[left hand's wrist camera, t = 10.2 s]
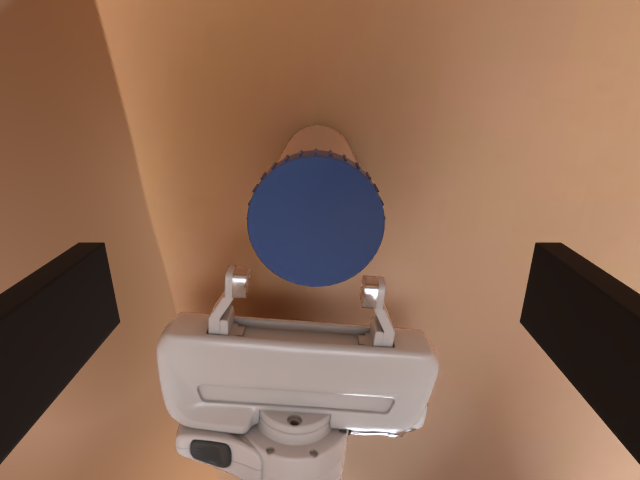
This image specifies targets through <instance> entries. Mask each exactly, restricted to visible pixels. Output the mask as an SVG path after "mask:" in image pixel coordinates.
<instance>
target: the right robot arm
mask: <svg viewBox="0 0 640 480" xmlns="http://www.w3.org/2000/svg"><path fill="white" fill-rule="evenodd" d="M249 275H250V267H246V266H236V265H229V266H228V268H227V271H226V274H225V291H224V292H223V294H222V295H221V296H220V298H219V299H218V301H217V302H216V304H215V306H214V308H213V310H212V312H211V314H204V313H191V312H181V313H179V314H178V315H177V316H175V317H174V318H173V319H172V320H171V321H170V323H169V324H168V325H167V326H166V328H165V329H164V331H163V333H162V334H161V336H160V338H159V341H158V344H157V366H158V374H159V380H160V386H161V391H162V395H163V399H164V403H165V406H166V408H167V410H168V412H169V414H170V415H171V417H172V418H173V419H174V420H175V421H177V422H178V423H180V424H179V427H178V431H177V435H176V440H175V447H176V451H177V452H178V454H180V455H181V456H183V457H185V458H188V459H191V460H194V461H198V462H201V463H204V464H207V465H210V466H213V467H216V468H218V469H221V470H223V471H226V472H228V473H230V474H232V475H234V476H236V477H238V478H240V479H241V480H340V479H341V476H342V472H343V467H344V460H345V453H346V446H347V438H348V435H349V434H353V435H378V434H379V435H387V436H389V437H402V436H404V433H405V432H411V431H413V430H416V429H419V428H421V427H422V426H423V424H424V422H425V417H426V413H427V408H428V400H429V398H430V396H431V393H432V390H433V388H434V385H435V382H436V379H437V375H438V372H439V359H438V356H437V353H436V350H435V348H434V346H433V344H432V342H431V341H430V339H429V338H428V337H427V335H426V334H425V333H424V332H423V331H422V330H417V329H404V328H393V324H392V321H391V318H390V315H389V313H388V311H387V309H386V307H385V305H384V299H385V292H386V284H385V281H384V278H383V277H376V276H363V277H362V287H361V290H360V299H361V304H362V307H363V308H373V309H374V311H375V313H376V316H373V317H372V320H371V326H364V325H351V324H337V323H324V322H311V321H298V320H284V319H271V318H257V317H244V316H234V306H233V305H230V303H231V302H232V301H233V299H234V298H245V299H246V297H247V292H248V291H249V288H250V278H249Z"/></svg>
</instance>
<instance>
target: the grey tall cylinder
mask: <svg viewBox="0 0 640 480" xmlns="http://www.w3.org/2000/svg"><path fill="white" fill-rule="evenodd" d="M315 148H317V150H322V151H329V150H332V152H333V153H337V154H339V155H342V156H343V155H346V157H347V158H348V159H350V160H351V161H353V162H354V163H356V162H357V161H356V159H355V157H354V155H353V153H352V151H351V149H350V146H349V144H348V143H347V141H346V139H345V138H344V137H343V136H342V135H341V134H340V133H339V132H337V131H336V130H334V129H332V128H330V127H327V126H321V125H314V126H309V127H306V128H304V129H302V130H300V131H298V132H297V133H296V134H295V135H294V136H293V137H292V138H291V139H290V141H289V142H288V144H287V146H286V148H285V149H284V151H283V153H282V155H281V157H280V159H279V160H278V162H279V161H281V160H283V159H284V158H285V157H286V155H289V156H290V155H293V154H296V153H299V152H300V150H302V151H310V150H315ZM278 162H277V163H278Z"/></svg>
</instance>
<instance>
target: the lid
mask: <svg viewBox="0 0 640 480" xmlns="http://www.w3.org/2000/svg"><path fill="white" fill-rule="evenodd" d="M253 192H254V194H253V196H252V198H251V200H250V202H249V204H248V206H249V209H248V215H247V227H248V234H249V238H250V241H251V244H252V247H253V248H254V250H255V252H256V254H257V256H258V257H259V258H260V260H261V261H262V262H263V263H264V264H265V266H266V267H267V268H269V269H270V270H271V271H272V272H273V273H275V274H276V275H278V276H279V277H281V278H283V279H285V280H287V281H289V282H292V283H295V284H298V285H303V286H311V287H322V286H330V285H334V284H338V283H340V282H343V281H346V280H348V279H349V278H351V277H353V276H355V275H356V274H357V273H359V272H360V271H361V270H363V269H364V268H365V267H366V266H367V265H368V264H369V262H370V261H371V260H372V259H373V257H374V256H375V254H376V253H377V251H378V248H379V246H380V244H381V241H382V238H383V233H384V225H385V216H384V210H383V206H384V204H383V202H382V200H381V198H380V196H379V194H378V193H377V192H379V190H378V188H377V187H376V185H375V184H373V183H372V182H371V177H370V176H369V174H368V172H366V173H365V172H364V171H363V170H362V169H361V168H360V166H359V164H358V163H357V162H356V163H354V162H353V161H351V160H350V159H348V158H347V157H346V155H343V156H342V155H339V154H337V153H333V152H332V150H329V151H322V150H317V148H315V150H310V151H302V150H300V152H299V153H296V154H293V155H290V156H289V155H286V157H285V158H284V159H283V160H281V161H279V162H278V163H276V162H275V163H274V164H273V166H272V167H271V169H270V170H269V171H268V172H267V173H266V172H265V173H264V174H263V176H262V177H261V182H260V183H259V184H257V185H256V187H255V188H254V190H253Z"/></svg>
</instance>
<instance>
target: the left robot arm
mask: <svg viewBox="0 0 640 480" xmlns="http://www.w3.org/2000/svg"><path fill="white" fill-rule="evenodd" d="M119 323H120V319H119V314H118V309H117V304H116V299H115V294H114V288H113V283H112V278H111V273H110V269H109V263H108V258H107V253H106V248H105V243H78V244H76V245H75V246H73V247H71V248H70V249H68V250H67V251H65V252H64V253H62V254H61V255H59V256H58V257H56V258H55V259H53V260H52V261H50V262H49V263H47V264H46V265H44V266H42V267H41V268H39V269H38V270H36V271H35V272H33V273H32V274H30V275H29V276H27V277H26V278H24V279H23V280H21V281H20V282H18V283H17V284H15V285H13V286H12V287H10V288H9V289H7V290H6V291H4V292H3V293H1V294H0V464H1V463H2V462H3V460H4V459H5V458H6V457H7V456H8V455H9V453H10V452H11V451H12V450H13V449H14V447H15V446H16V445H17V444H18V443H19V442H20V440H21V439H22V438H23V437H24V436H25V434H26V433H27V432H28V431H29V430H30V428H31V427H32V426H33V425H34V424H35V423H36V421H37V420H38V419H39V418H40V416H41V415H42V414H43V413H44V412H45V411H46V409H47V408H48V407H49V406H50V405H51V403H52V402H53V401H54V400H55V399H56V398H57V396H58V395H59V394H60V393H61V392H62V390H63V389H64V388H65V387H66V386H67V385H68V383H69V382H70V381H71V380H72V379H73V377H74V376H75V375H76V374H77V373H78V371H79V370H80V369H81V368H82V367H83V366H84V364H85V363H86V362H87V361H88V360H89V358H90V357H91V356H92V355H93V354H94V352H95V351H96V350H97V349H98V348H99V346H100V345H101V344H102V343H103V342H104V341H105V339H106V338H107V337H108V336H109V335H110V333H111V332H112V331H113V330H114V329H115V328H116V326H117V325H118V324H119ZM520 323H521V324H522V325H523V326H524V328H525V329H526V330H527V331H528V332H529V333H530V335H531V336H532V337H533V338H534V339H535V341H536V342H537V343H538V344H539V345H540V347H541V348H542V349H543V350H544V351H545V352H546V354H547V355H548V356H549V357H550V358H551V360H552V361H553V362H554V363H555V364H556V366H557V367H558V368H559V369H560V370H561V371H562V373H563V374H564V375H565V376H566V377H567V379H568V380H569V381H570V382H571V383H572V385H573V386H574V387H575V388H576V389H577V390H578V392H579V393H580V394H581V395H582V396H583V398H584V399H585V400H586V401H587V402H588V404H589V405H590V406H591V407H592V408H593V409H594V411H595V412H596V413H597V414H598V415H599V417H600V418H601V419H602V420H603V421H604V423H605V424H606V425H607V426H608V427H609V428H610V430H611V431H612V432H613V433H614V434H615V436H616V437H617V438H618V439H619V440H620V442H621V443H622V444H623V445H624V446H625V447H626V449H627V450H628V451H629V452H630V453H631V455H632V456H633V457H634V458H635V459H636V461H637V462H638V463H639V464H640V294H639V293H637V292H636V291H634V290H633V289H631V288H630V287H628V286H627V285H625V284H623V283H622V282H620V281H619V280H617V279H616V278H614V277H613V276H611V275H610V274H608V273H607V272H605V271H604V270H602V269H601V268H599V267H598V266H596V265H594V264H593V263H591V262H590V261H588V260H587V259H585V258H584V257H582V256H581V255H579V254H578V253H576V252H575V251H573V250H572V249H570V248H569V247H567V246H565V245H564V244H562V243H535V248H534V253H533V258H532V263H531V268H530V273H529V278H528V283H527V288H526V293H525V298H524V303H523V308H522V314H521V319H520Z"/></svg>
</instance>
